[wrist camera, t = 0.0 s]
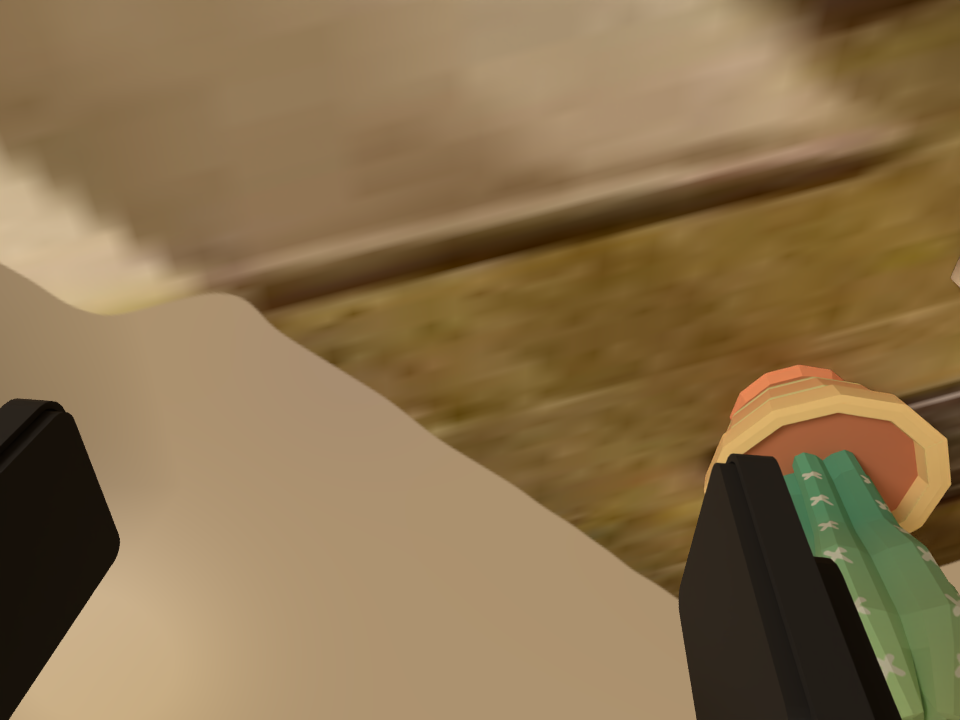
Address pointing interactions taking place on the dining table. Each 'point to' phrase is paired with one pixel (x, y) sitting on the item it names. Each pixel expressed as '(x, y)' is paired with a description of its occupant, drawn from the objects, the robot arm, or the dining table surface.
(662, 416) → the dining table surface
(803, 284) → the dining table surface
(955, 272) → the board
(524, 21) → the dining table surface
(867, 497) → the potted cactus
